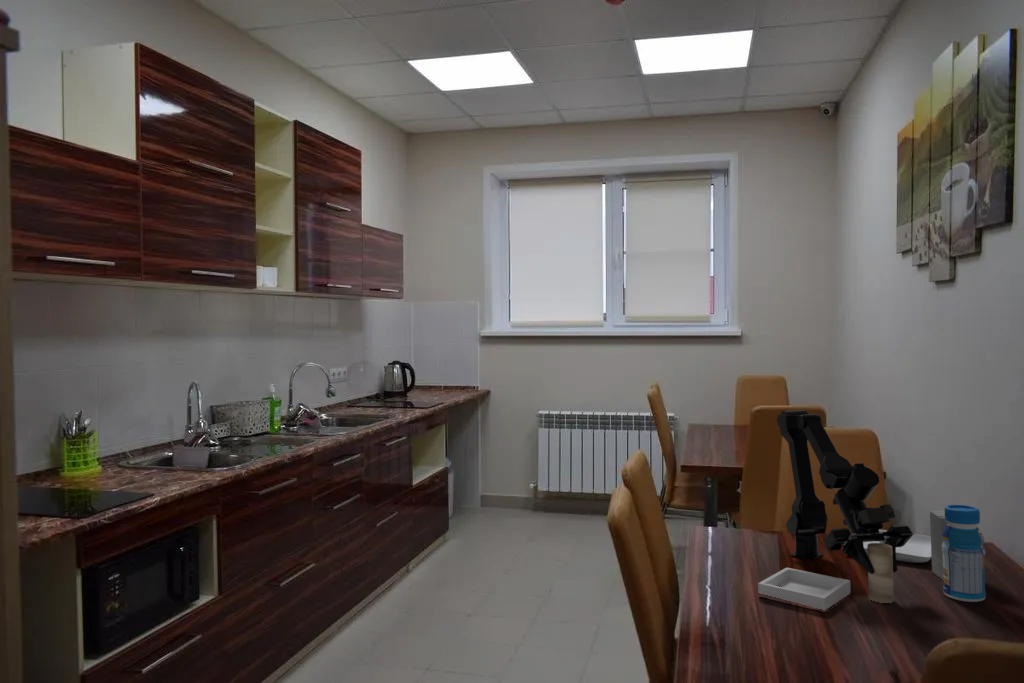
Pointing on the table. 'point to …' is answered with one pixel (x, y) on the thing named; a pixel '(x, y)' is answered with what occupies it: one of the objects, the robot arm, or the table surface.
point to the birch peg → (881, 573)
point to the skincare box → (937, 541)
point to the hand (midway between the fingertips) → (884, 572)
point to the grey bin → (805, 588)
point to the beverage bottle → (963, 554)
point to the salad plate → (911, 549)
